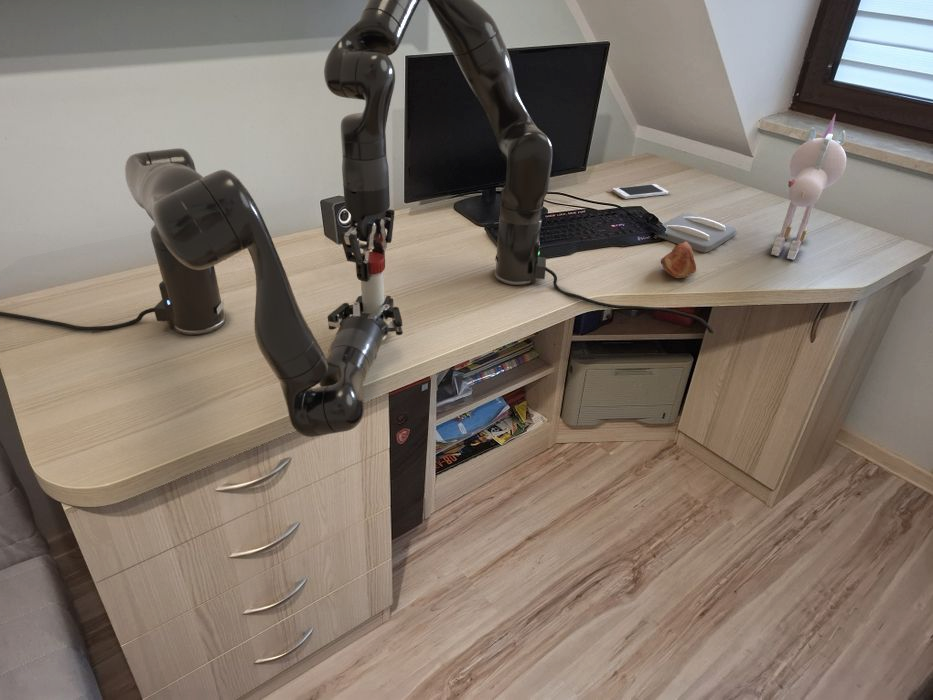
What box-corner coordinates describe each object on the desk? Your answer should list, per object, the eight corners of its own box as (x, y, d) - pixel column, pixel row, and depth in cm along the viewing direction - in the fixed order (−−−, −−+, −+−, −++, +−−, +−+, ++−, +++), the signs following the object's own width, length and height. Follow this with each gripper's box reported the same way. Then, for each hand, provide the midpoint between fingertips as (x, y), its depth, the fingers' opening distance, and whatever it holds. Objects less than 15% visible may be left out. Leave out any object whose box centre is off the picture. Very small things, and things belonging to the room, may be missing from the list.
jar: (364, 342, 120) (359, 266, 111) (364, 331, 123) (359, 256, 114) (386, 341, 121) (382, 266, 112) (385, 330, 124) (382, 256, 115)
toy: (826, 222, 178) (867, 110, 161) (806, 269, 152) (852, 142, 135) (779, 212, 183) (814, 103, 167) (751, 256, 157) (789, 132, 141)
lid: (389, 265, 115) (389, 254, 114) (377, 276, 111) (376, 265, 110) (366, 261, 116) (365, 249, 115) (353, 271, 113) (352, 260, 111)
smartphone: (611, 191, 194) (612, 187, 193) (654, 186, 199) (655, 183, 198) (624, 199, 188) (625, 196, 188) (668, 194, 193) (668, 191, 193)
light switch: (708, 241, 156) (653, 223, 165) (705, 253, 158) (650, 234, 167) (740, 223, 167) (687, 206, 176) (737, 234, 169) (684, 217, 178)
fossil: (669, 273, 140) (675, 228, 140) (641, 275, 147) (646, 232, 147) (707, 283, 147) (712, 240, 147) (678, 285, 154) (683, 244, 154)
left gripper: (396, 332, 104) (413, 283, 118) (310, 325, 105) (338, 278, 119) (397, 370, 108) (414, 318, 122) (315, 363, 109) (341, 313, 123)
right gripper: (369, 166, 112) (374, 255, 121) (321, 190, 101) (330, 286, 110) (407, 173, 109) (409, 263, 119) (361, 198, 98) (367, 296, 108)
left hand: (376, 299), depth 120 cm, fingers closed on jar, 4 cm apart
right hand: (371, 273), depth 114 cm, fingers closed on lid, 4 cm apart
